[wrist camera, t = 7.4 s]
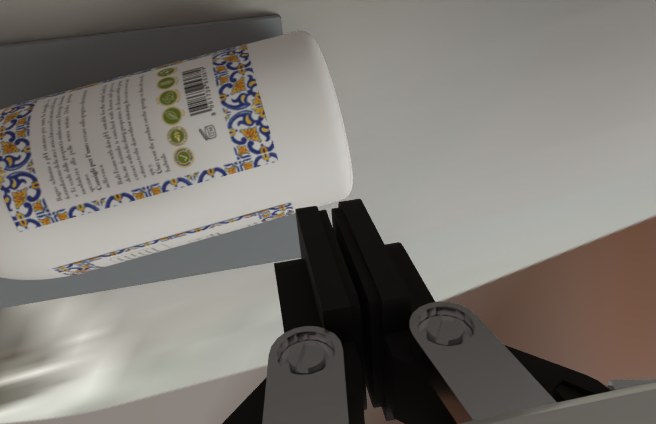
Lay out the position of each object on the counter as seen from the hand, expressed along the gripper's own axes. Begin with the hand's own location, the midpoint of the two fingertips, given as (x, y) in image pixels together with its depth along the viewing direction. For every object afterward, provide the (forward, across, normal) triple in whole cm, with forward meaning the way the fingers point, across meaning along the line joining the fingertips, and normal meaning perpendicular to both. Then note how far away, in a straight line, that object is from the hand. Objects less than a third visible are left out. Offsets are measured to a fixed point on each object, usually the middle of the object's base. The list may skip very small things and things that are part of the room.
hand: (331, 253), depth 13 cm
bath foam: (+9, -2, -1) cm, 9 cm away
